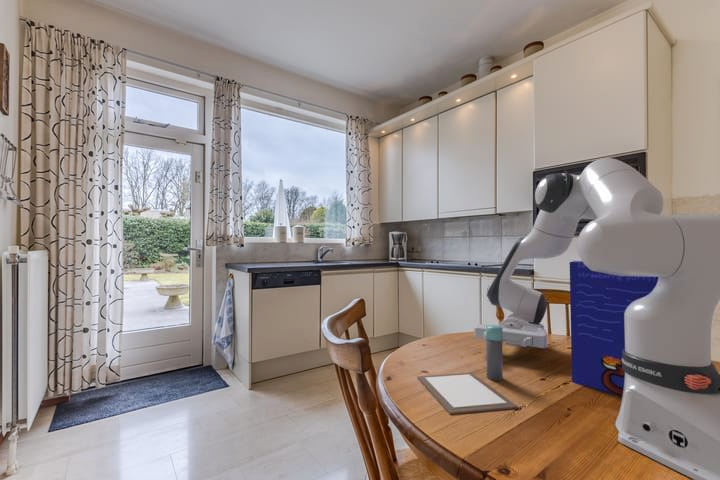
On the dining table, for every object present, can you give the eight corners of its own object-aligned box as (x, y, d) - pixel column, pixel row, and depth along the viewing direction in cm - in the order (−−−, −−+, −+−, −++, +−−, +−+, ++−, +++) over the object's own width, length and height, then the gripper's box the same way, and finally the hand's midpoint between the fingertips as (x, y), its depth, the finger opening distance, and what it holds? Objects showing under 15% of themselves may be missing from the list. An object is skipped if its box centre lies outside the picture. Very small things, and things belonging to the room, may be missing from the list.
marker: (506, 380, 83) (505, 328, 83) (492, 381, 82) (491, 329, 83) (497, 374, 87) (496, 324, 87) (483, 375, 86) (482, 325, 87)
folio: (517, 408, 68) (517, 405, 69) (450, 414, 66) (450, 411, 66) (471, 374, 87) (471, 371, 87) (417, 378, 85) (417, 375, 85)
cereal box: (701, 409, 68) (696, 263, 69) (695, 417, 65) (690, 264, 65) (581, 376, 86) (579, 260, 86) (571, 382, 82) (569, 261, 83)
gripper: (479, 317, 111) (467, 325, 100) (549, 325, 99) (544, 334, 88) (480, 336, 111) (467, 346, 100) (550, 346, 99) (544, 358, 88)
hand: (504, 340), depth 94 cm, fingers open, 8 cm apart
